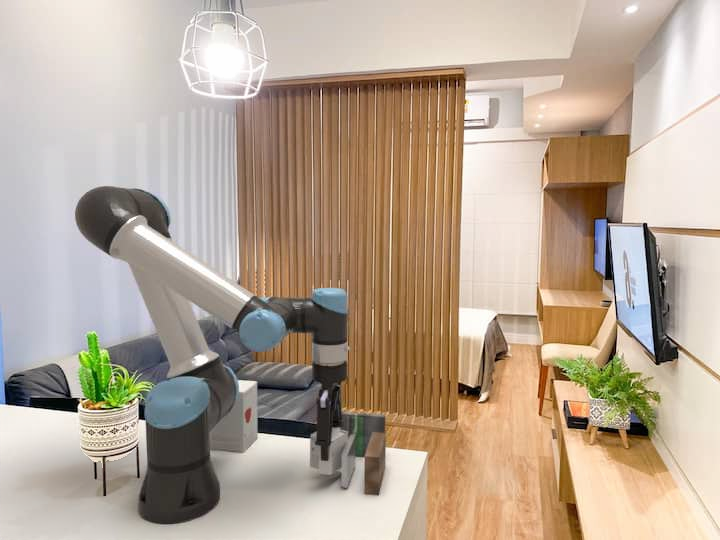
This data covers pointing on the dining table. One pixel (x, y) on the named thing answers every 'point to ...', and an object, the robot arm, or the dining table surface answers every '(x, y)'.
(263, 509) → the dining table surface
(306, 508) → the dining table surface
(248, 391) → the supplement box
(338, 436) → the skincare box
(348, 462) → the plate
